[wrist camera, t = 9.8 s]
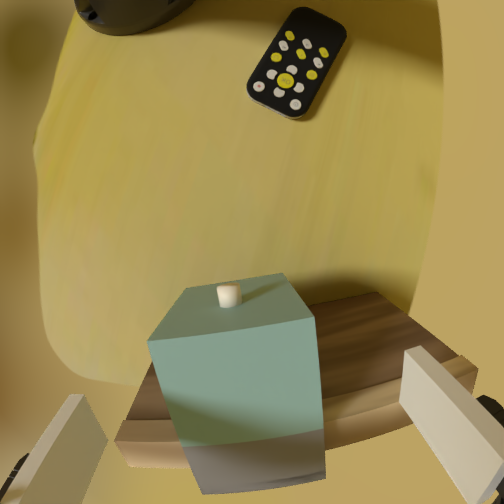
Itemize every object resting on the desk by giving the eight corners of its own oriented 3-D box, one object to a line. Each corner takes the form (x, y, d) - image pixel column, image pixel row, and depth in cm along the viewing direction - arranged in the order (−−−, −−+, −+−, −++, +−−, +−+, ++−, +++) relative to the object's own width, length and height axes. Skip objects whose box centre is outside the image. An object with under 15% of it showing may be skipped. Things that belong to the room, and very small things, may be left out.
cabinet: (183, 274, 22) (140, 319, 12) (280, 259, 22) (311, 293, 12) (213, 405, 23) (202, 494, 13) (298, 393, 23) (325, 478, 13)
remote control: (346, 35, 26) (352, 27, 24) (298, 125, 28) (302, 121, 26) (295, 9, 25) (298, 0, 23) (240, 97, 27) (240, 90, 25)
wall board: (167, 325, 31) (114, 440, 14) (376, 290, 31) (478, 368, 14) (173, 346, 31) (129, 466, 14) (377, 310, 31) (471, 397, 15)
